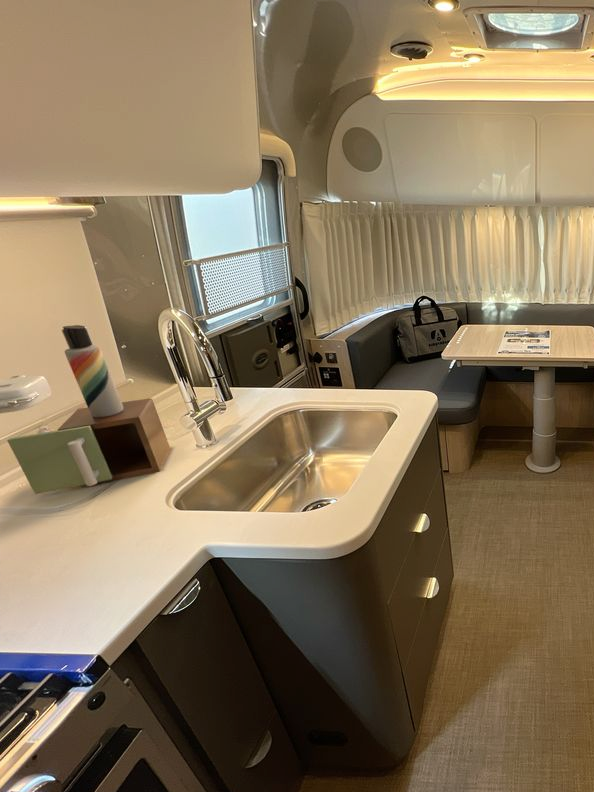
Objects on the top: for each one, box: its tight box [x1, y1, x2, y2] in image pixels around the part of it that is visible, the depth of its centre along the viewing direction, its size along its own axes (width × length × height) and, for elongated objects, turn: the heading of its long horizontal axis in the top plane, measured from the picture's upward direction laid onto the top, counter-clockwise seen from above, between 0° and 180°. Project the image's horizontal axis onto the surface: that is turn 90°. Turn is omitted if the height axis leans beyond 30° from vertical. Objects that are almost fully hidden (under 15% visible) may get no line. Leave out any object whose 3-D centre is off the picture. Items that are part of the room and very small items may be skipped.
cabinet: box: [57, 397, 171, 487], centre depth 111 cm, size 14×12×14 cm
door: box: [6, 426, 112, 495], centre depth 101 cm, size 13×5×13 cm, turn 115°
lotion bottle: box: [61, 324, 123, 417], centre depth 105 cm, size 6×6×20 cm
